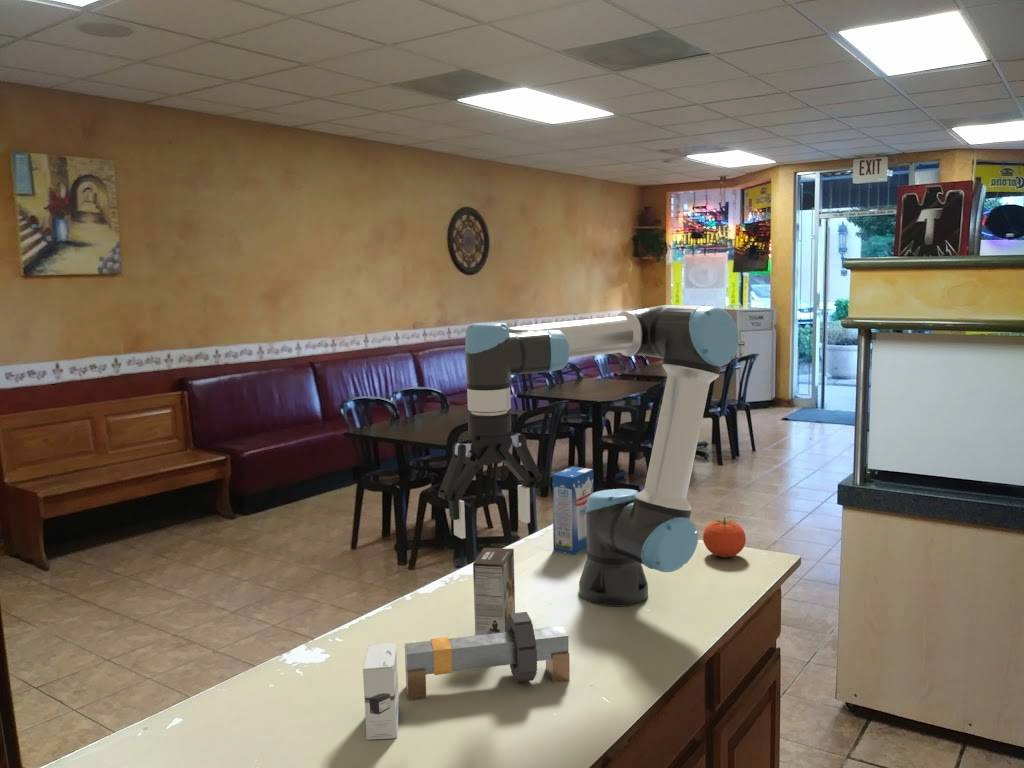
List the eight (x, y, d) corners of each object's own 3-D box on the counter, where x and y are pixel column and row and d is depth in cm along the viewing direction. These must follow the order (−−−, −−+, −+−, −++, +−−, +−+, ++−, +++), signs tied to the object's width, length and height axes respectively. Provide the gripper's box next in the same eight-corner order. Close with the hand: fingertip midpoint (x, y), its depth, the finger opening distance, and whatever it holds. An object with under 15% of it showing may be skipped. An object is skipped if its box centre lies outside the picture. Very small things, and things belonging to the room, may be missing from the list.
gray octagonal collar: (523, 660, 146) (522, 603, 145) (537, 690, 136) (536, 629, 134) (507, 662, 146) (505, 605, 144) (520, 692, 135) (519, 631, 134)
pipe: (561, 666, 145) (561, 623, 144) (569, 680, 140) (569, 635, 139) (406, 685, 139) (404, 641, 138) (408, 700, 134) (406, 654, 133)
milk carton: (573, 539, 214) (572, 466, 211) (593, 543, 210) (593, 469, 207) (553, 550, 205) (552, 474, 203) (574, 555, 202) (573, 477, 199)
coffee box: (485, 621, 164) (483, 546, 162) (516, 624, 163) (514, 548, 161) (474, 642, 155) (472, 562, 153) (506, 644, 154) (505, 564, 152)
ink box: (369, 711, 132) (366, 643, 130) (400, 709, 132) (397, 641, 130) (364, 741, 123) (361, 669, 121) (397, 739, 123) (394, 667, 122)
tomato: (695, 551, 203) (696, 513, 201) (732, 547, 205) (732, 509, 204) (715, 565, 193) (715, 525, 192) (753, 561, 195) (754, 521, 194)
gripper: (535, 400, 150) (537, 510, 153) (415, 417, 137) (420, 537, 140) (559, 405, 144) (561, 520, 147) (436, 423, 130) (441, 549, 133)
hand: (492, 528), depth 143 cm, fingers open, 13 cm apart
